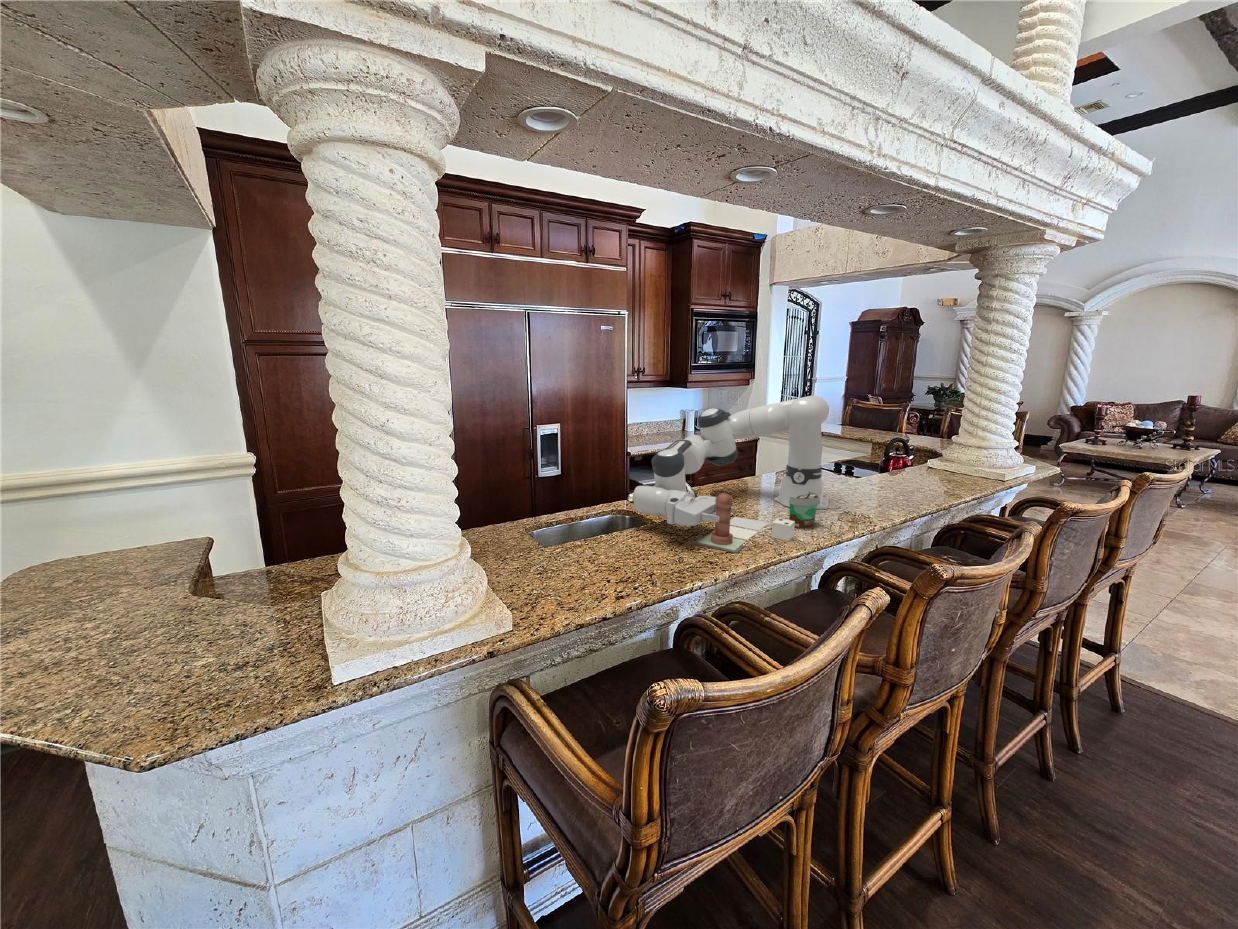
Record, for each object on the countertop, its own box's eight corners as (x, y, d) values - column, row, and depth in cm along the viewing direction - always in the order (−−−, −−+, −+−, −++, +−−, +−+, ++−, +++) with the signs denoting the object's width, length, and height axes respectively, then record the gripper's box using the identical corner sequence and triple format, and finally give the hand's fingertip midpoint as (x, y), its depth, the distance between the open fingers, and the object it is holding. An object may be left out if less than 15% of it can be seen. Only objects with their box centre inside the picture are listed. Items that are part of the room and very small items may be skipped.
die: (776, 534, 149) (777, 517, 148) (793, 537, 146) (794, 520, 145) (771, 538, 145) (772, 522, 144) (788, 542, 142) (790, 525, 141)
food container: (805, 533, 150) (807, 501, 148) (786, 528, 154) (789, 497, 152) (824, 525, 158) (828, 494, 156) (806, 520, 162) (809, 490, 160)
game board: (733, 516, 165) (733, 515, 165) (772, 523, 158) (772, 522, 158) (692, 543, 140) (692, 542, 140) (736, 553, 133) (736, 552, 133)
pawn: (715, 536, 145) (718, 489, 142) (735, 540, 142) (738, 492, 139) (707, 542, 140) (710, 493, 137) (727, 546, 137) (730, 497, 134)
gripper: (696, 508, 155) (738, 516, 148) (664, 525, 139) (710, 535, 131) (697, 488, 154) (740, 495, 147) (665, 503, 138) (711, 512, 130)
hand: (725, 514), depth 139 cm, fingers open, 8 cm apart
